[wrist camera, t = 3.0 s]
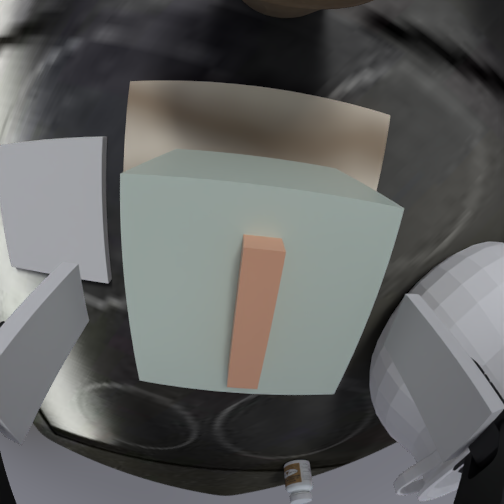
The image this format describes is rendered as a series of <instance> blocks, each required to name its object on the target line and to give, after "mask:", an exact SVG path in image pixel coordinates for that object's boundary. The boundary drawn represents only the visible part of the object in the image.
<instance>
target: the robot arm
mask: <svg viewBox="0 0 504 504" xmlns="http://www.w3.org/2000/svg"><path fill="white" fill-rule="evenodd" d="M88 322H89V319H88V314H87V309H86V304H85V299H84V294H83V288H82V282H81V276H80V270H79V264H77V263H70V262H62V263H61V264H60V265H59V266H58V267H57V268H56V269H55V270H54V271H53V272H52V273H51V274H50V275H49V276H48V277H47V278H46V279H45V280H44V281H43V282H42V283H41V284H40V285H39V286H38V287H37V288H36V289H35V290H34V291H33V292H32V293H31V294H30V295H29V296H28V297H27V298H26V299H25V300H24V301H23V303H22V304H21V305H20V306H19V307H18V308H17V309H16V310H15V311H14V312H13V314H12V315H11V316H10V317H9V318H8V319H7V320H6V322H4V321H2V322H1V323H0V432H1V433H2V434H3V435H4V436H5V437H6V438H8V439H10V440H12V441H14V442H16V443H18V444H20V445H22V444H23V442H24V440H25V438H26V436H27V433H28V431H29V429H30V427H31V425H32V423H33V420H34V418H35V416H36V414H37V412H38V410H39V408H40V406H41V404H42V402H43V400H44V398H45V396H46V394H47V393H48V391H49V389H50V387H51V385H52V383H53V381H54V379H55V378H56V376H57V374H58V372H59V370H60V369H61V367H62V365H63V363H64V362H65V360H66V358H67V356H68V355H69V353H70V351H71V349H72V348H73V346H74V344H75V343H76V341H77V339H78V338H79V336H80V335H81V333H82V331H83V330H84V328H85V326H86V325H87V323H88ZM384 346H385V348H386V350H387V351H388V353H389V355H390V357H391V359H392V360H393V362H394V364H395V366H396V368H397V370H398V372H399V373H400V375H401V377H402V379H403V381H404V383H405V385H406V387H407V389H408V391H409V393H410V395H411V397H412V399H413V400H414V402H415V404H416V406H417V408H418V410H419V413H420V415H421V417H422V419H423V421H424V423H425V425H426V427H427V429H428V431H429V433H430V435H431V438H432V440H433V442H434V444H435V446H436V449H437V451H438V453H439V455H440V457H441V460H442V462H443V463H444V462H446V461H449V460H451V459H454V458H456V457H458V456H459V455H460V454H461V453H462V452H463V451H465V450H466V449H467V448H469V450H470V453H468V454H467V455H466V456H465V457H464V458H463V459H462V460H461V461H459V462H458V463H457V464H456V465H455V466H454V468H453V470H454V471H455V470H456V469H458V468H459V467H460V466H461V465H462V464H464V466H463V467H462V468H460V470H459V471H458V472H460V473H462V474H461V479H460V482H459V486H458V490H457V494H456V497H455V500H454V504H504V399H503V398H502V396H501V395H500V393H499V392H498V390H497V389H496V388H495V386H494V385H493V383H492V382H490V379H489V378H488V376H487V375H486V374H484V373H485V372H484V371H483V369H482V368H481V367H480V365H479V364H478V363H477V362H476V361H475V360H474V359H472V358H471V357H470V356H469V355H468V353H467V352H466V351H465V349H464V348H463V347H462V345H461V344H460V343H459V342H458V340H457V339H456V338H455V337H454V335H453V334H452V333H451V332H450V330H449V329H448V328H447V327H446V325H445V324H444V323H443V322H442V321H441V319H440V318H439V317H438V316H437V315H436V313H435V312H434V311H433V310H432V309H431V308H430V306H429V305H428V304H427V303H426V302H425V301H424V299H423V298H422V297H421V296H420V295H419V294H405V296H404V298H403V301H402V303H401V306H400V308H399V311H398V313H397V315H396V318H395V320H394V322H393V325H392V327H391V329H390V331H389V334H388V336H387V338H386V340H385V342H384ZM0 504H16V501H15V499H14V496H13V493H12V490H11V487H10V485H9V481H8V478H7V475H6V471H5V468H4V464H3V461H2V457H1V453H0Z"/></svg>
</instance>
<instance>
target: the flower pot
mask: <svg viewBox="0 0 504 504" xmlns="http://www.w3.org/2000/svg"><path fill="white" fill-rule="evenodd" d="M242 1H243V2H244V3H246V4H247V5H248V6H249V7H251V8H252V9H254V10H256V11H258V12H260V13H262V14H265V15H268V16H272V17H277V18H296V17H301V16H305V15H308V14H310V13H313V12H316V11H318V10H321V9H339V8H347V7H353V6H357V5H361V4H365V3H368V2H370V1H373V0H242Z"/></svg>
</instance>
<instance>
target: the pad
mask: <svg viewBox="0 0 504 504" xmlns="http://www.w3.org/2000/svg"><path fill="white" fill-rule="evenodd" d="M106 152H107V136H105V137H76V138H60V139H47V140H36V141H26V142H18V143H10V144H2V145H0V203H1V211H2V219H3V225H4V232H5V237H6V243H7V248H8V253H9V258H10V262H11V266H12V267H17V268H22V269H27V270H32V271H37V272H43V273H48V274H51V273H52V272H53V271H54V270H55V269H56V268H57V267H58V266H59V265H60V264H61V263H62V262H70V263H77V264H79V270H80V276H81V279H83V280H89V281H95V282H102V283H108V284H109V282H110V281H111V279H112V276H111V267H110V256H109V244H108V229H107V208H106Z"/></svg>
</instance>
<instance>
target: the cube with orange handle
mask: <svg viewBox="0 0 504 504" xmlns="http://www.w3.org/2000/svg"><path fill="white" fill-rule="evenodd" d="M403 211H404V208H403V207H401V206H400V205H398V204H396V203H395V202H393V201H392V200H390V199H388V198H387V197H385V196H383V195H382V194H380V193H378V192H377V191H375V190H373V189H372V188H370V187H368V186H367V185H365V184H363V183H361V182H360V181H358V180H356V179H354V178H352V177H351V176H349V175H347V174H345V173H343V172H342V171H340V170H338V169H336V168H332V167H326V166H320V165H315V164H309V163H303V162H296V161H290V160H283V159H276V158H268V157H261V156H252V155H244V154H234V153H224V152H214V151H201V150H187V149H175V150H173V151H170V152H168V153H165V154H163V155H161V156H158V157H156V158H154V159H151V160H149V161H147V162H144V163H142V164H140V165H138V166H136V167H133V168H131V169H129V170H127V171H125V172H123V173H121V174H120V218H121V242H122V257H123V270H124V281H125V291H126V300H127V308H128V316H129V323H130V330H131V336H132V342H133V348H134V354H135V359H136V365H137V370H138V375H139V380H140V381H146V382H151V383H157V384H164V385H170V386H177V387H184V388H192V389H201V390H210V391H221V392H233V393H249V394H272V395H322V394H334V393H335V391H336V389H337V387H338V385H339V383H340V381H341V379H342V377H343V375H344V373H345V371H346V369H347V366H348V364H349V362H350V360H351V358H352V355H353V353H354V351H355V349H356V346H357V344H358V342H359V340H360V337H361V335H362V332H363V330H364V328H365V325H366V323H367V320H368V318H369V315H370V313H371V310H372V307H373V305H374V302H375V300H376V297H377V294H378V291H379V289H380V286H381V283H382V280H383V277H384V274H385V271H386V268H387V265H388V262H389V259H390V256H391V253H392V250H393V246H394V243H395V240H396V236H397V233H398V229H399V226H400V222H401V219H402V215H403Z"/></svg>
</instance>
